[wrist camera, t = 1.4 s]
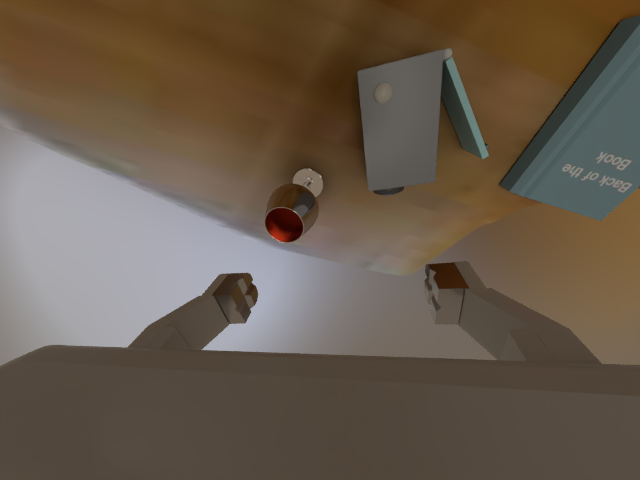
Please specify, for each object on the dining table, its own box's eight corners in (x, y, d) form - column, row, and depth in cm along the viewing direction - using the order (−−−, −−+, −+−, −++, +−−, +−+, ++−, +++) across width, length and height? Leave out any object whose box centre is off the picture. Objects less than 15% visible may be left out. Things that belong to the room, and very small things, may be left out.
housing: (357, 76, 36) (357, 70, 28) (424, 59, 34) (445, 47, 26) (367, 185, 45) (369, 205, 37) (421, 178, 43) (435, 197, 35)
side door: (425, 61, 34) (441, 52, 27) (438, 50, 33) (459, 39, 26) (461, 149, 39) (482, 159, 33) (474, 141, 38) (498, 151, 32)
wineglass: (323, 206, 49) (308, 254, 34) (286, 197, 49) (255, 242, 34) (331, 168, 45) (317, 206, 30) (290, 159, 45) (256, 192, 30)
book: (577, 208, 43) (601, 220, 38) (497, 183, 42) (512, 193, 38) (726, 59, 30) (786, 53, 26) (614, 22, 30) (656, 10, 26)
